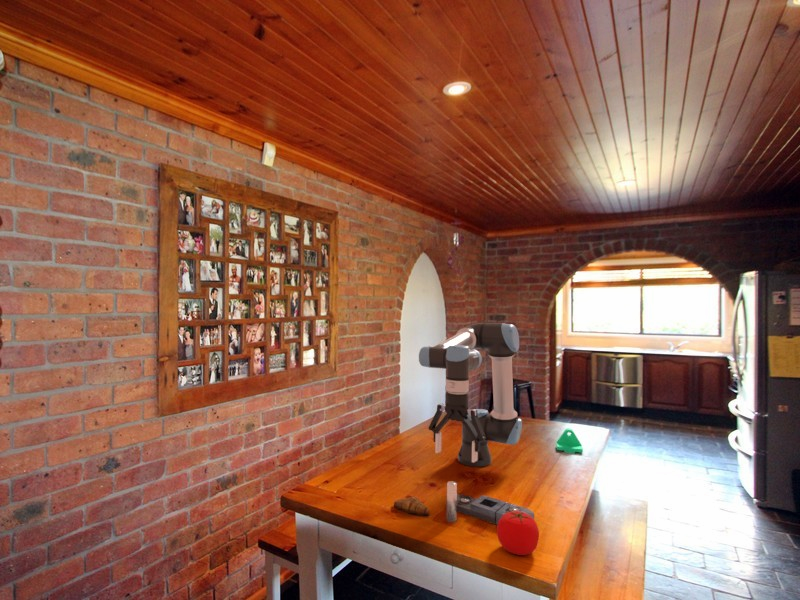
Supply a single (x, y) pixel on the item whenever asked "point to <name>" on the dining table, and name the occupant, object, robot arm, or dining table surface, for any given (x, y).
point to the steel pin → (451, 501)
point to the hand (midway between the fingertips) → (455, 456)
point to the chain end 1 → (464, 507)
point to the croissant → (412, 506)
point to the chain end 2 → (496, 507)
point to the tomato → (518, 533)
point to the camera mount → (569, 442)
